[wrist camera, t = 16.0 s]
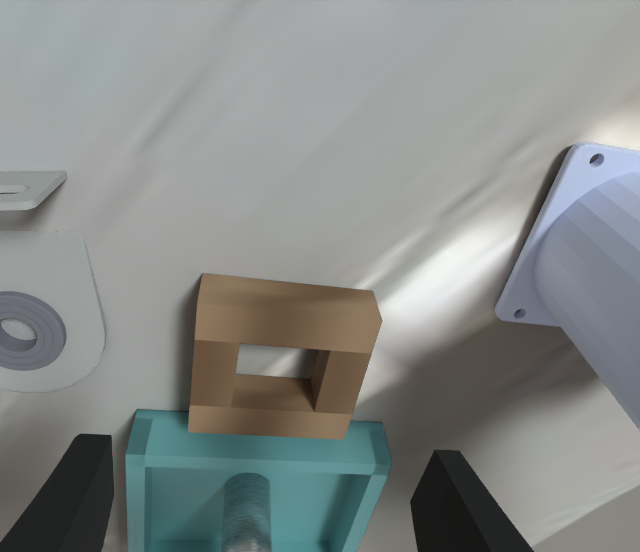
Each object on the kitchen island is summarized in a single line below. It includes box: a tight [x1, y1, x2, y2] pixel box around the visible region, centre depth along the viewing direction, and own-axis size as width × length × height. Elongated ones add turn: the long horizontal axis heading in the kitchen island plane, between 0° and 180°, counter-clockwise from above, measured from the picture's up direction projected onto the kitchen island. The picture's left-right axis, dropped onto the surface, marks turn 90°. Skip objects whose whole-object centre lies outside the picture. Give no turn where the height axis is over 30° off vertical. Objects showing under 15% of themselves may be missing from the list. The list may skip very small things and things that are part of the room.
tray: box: [125, 409, 392, 552], centre depth 27 cm, size 12×11×2 cm
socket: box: [188, 273, 382, 440], centre depth 22 cm, size 7×7×2 cm
